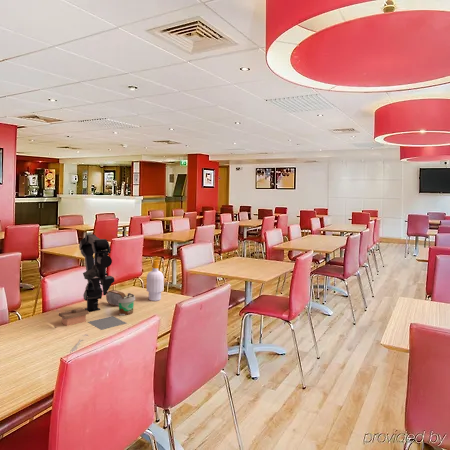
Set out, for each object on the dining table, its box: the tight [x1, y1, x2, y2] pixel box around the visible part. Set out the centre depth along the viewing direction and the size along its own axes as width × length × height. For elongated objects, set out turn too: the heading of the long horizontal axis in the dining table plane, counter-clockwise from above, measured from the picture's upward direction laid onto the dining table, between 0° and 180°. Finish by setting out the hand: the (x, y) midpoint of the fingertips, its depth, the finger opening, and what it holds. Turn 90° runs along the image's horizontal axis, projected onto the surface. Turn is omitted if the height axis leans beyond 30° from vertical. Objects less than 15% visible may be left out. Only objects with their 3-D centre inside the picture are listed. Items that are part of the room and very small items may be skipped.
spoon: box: [69, 333, 89, 354], centre depth 170 cm, size 4×21×2 cm, turn 179°
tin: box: [105, 289, 127, 307], centre depth 227 cm, size 15×3×8 cm, turn 58°
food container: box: [118, 292, 136, 316], centre depth 212 cm, size 12×6×10 cm, turn 168°
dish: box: [61, 315, 87, 327], centre depth 196 cm, size 6×10×4 cm, turn 136°
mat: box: [87, 315, 128, 331], centre depth 197 cm, size 14×14×1 cm
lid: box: [58, 307, 90, 319], centre depth 196 cm, size 7×12×2 cm, turn 136°
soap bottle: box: [146, 259, 165, 302], centre depth 240 cm, size 10×10×24 cm
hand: (100, 293), depth 205 cm, fingers open, 9 cm apart
